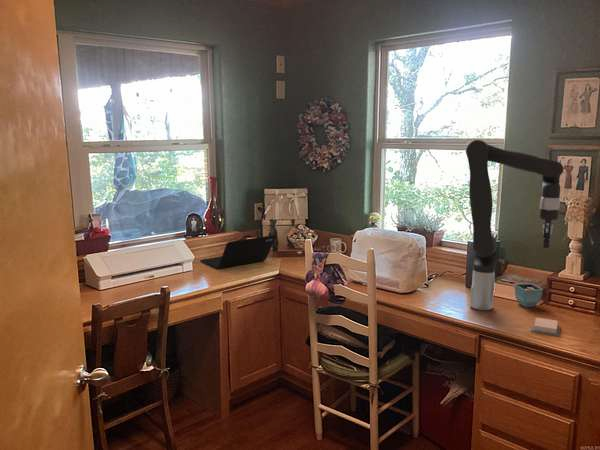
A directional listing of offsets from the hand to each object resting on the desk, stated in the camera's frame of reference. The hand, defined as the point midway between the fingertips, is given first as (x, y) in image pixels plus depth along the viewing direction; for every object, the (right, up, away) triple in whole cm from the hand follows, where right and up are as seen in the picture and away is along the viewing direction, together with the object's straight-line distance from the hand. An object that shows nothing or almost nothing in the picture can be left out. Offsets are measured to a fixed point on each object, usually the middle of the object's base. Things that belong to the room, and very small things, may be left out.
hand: (546, 247), depth 218 cm
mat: (-7, -32, -15) cm, 36 cm away
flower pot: (-2, -27, +13) cm, 31 cm away
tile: (-5, -30, -10) cm, 32 cm away
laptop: (-144, -14, +90) cm, 170 cm away
